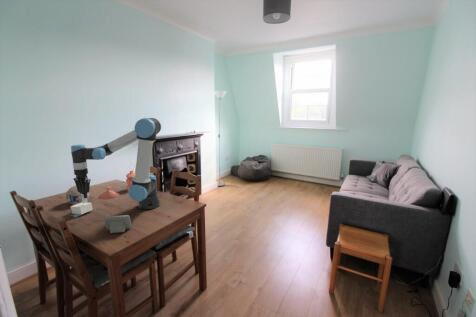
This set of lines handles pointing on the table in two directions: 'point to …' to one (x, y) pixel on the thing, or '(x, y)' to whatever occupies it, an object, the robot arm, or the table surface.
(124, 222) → the digital clock
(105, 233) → the table surface
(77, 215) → the strip
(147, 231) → the table surface
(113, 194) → the ceramic vessels
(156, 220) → the table surface
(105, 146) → the robot arm
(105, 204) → the table surface
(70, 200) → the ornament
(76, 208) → the cream block
